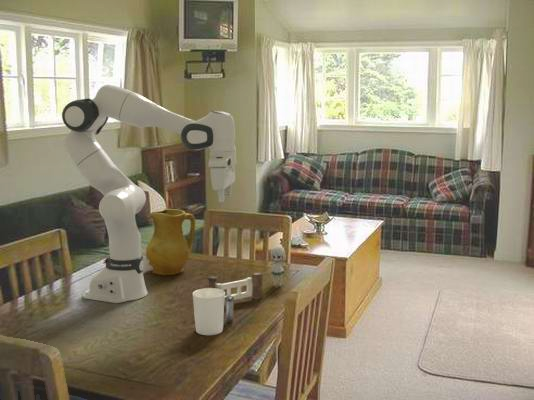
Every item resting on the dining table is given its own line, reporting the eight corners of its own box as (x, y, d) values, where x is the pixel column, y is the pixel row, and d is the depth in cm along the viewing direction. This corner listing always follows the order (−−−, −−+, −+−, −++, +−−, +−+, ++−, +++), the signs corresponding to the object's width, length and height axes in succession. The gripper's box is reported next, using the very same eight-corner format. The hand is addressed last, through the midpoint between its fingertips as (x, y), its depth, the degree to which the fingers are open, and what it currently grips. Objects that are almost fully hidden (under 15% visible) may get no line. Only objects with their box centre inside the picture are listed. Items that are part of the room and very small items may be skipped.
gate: (218, 303, 220) (217, 284, 219) (216, 302, 221) (215, 283, 220) (251, 296, 228) (251, 278, 227) (249, 295, 229) (249, 277, 228)
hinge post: (207, 309, 219) (206, 278, 217) (209, 306, 222) (209, 276, 220) (215, 309, 219) (215, 279, 217) (218, 306, 221) (217, 276, 220)
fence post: (256, 299, 229) (256, 274, 227) (252, 298, 230) (252, 273, 229) (262, 298, 230) (262, 273, 228) (258, 296, 232) (258, 272, 230)
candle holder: (212, 338, 194) (212, 300, 191) (186, 332, 199) (185, 294, 197) (231, 328, 202) (231, 291, 200) (206, 322, 207) (205, 286, 205)
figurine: (262, 285, 245) (262, 246, 243) (268, 280, 251) (268, 242, 248) (288, 288, 241) (288, 248, 239) (294, 283, 247) (294, 245, 244)
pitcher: (153, 263, 274) (153, 205, 269) (196, 267, 272) (198, 208, 267) (140, 276, 258) (140, 214, 253) (186, 280, 255) (187, 218, 250)
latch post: (224, 323, 206) (223, 298, 205) (226, 320, 209) (226, 295, 208) (232, 323, 206) (232, 299, 204) (235, 320, 208) (234, 296, 207)
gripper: (221, 156, 233) (223, 194, 235) (206, 162, 213) (208, 204, 215) (238, 155, 232) (240, 194, 234) (225, 162, 212) (227, 204, 214)
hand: (225, 199), depth 224 cm, fingers open, 8 cm apart
